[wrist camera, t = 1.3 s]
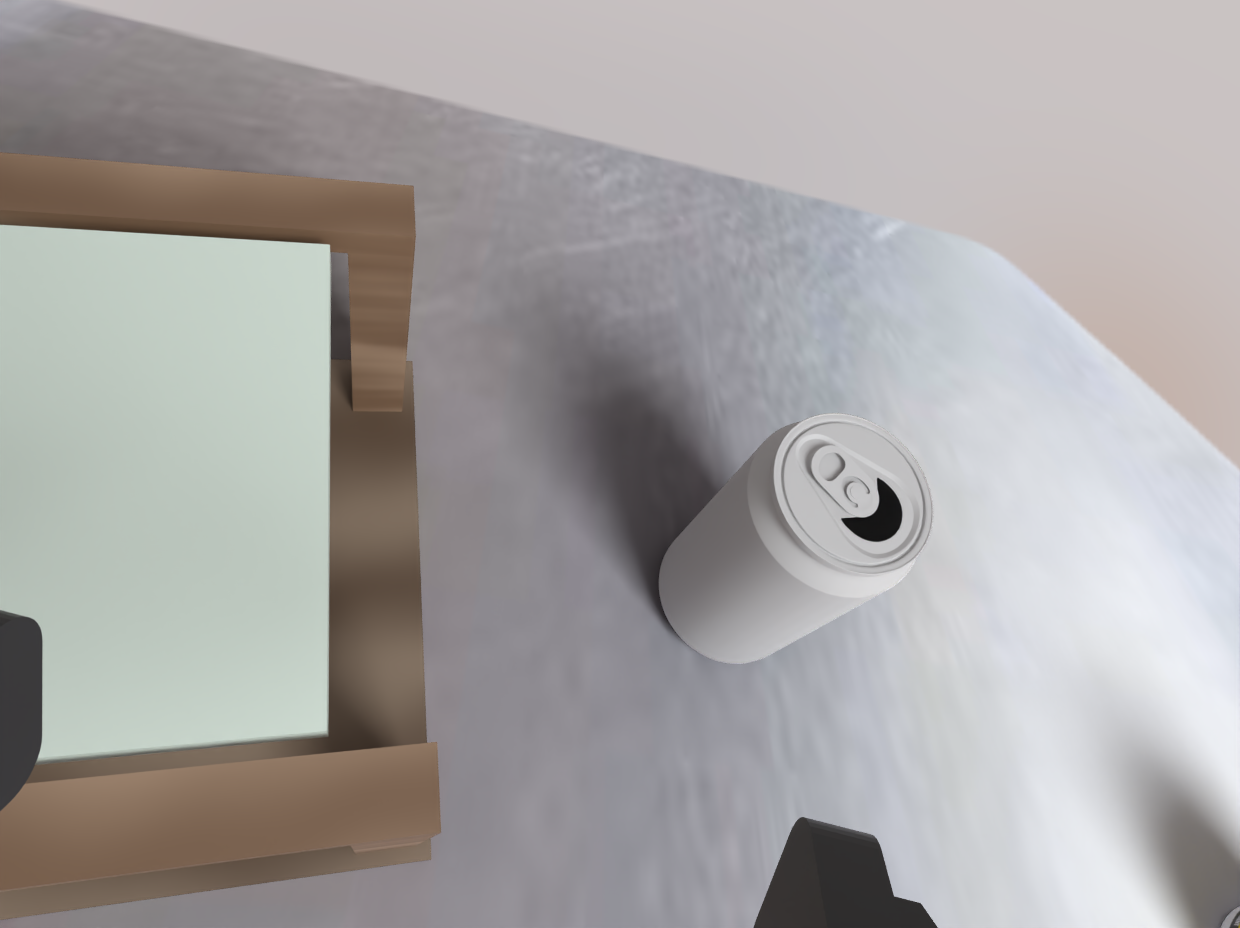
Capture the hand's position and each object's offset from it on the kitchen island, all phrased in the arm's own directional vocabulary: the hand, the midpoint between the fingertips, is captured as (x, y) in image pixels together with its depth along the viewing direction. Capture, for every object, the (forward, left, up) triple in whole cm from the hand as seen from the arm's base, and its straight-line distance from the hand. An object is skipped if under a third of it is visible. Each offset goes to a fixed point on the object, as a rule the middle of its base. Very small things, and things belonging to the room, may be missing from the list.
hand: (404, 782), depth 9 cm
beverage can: (-8, +15, -25) cm, 30 cm away
